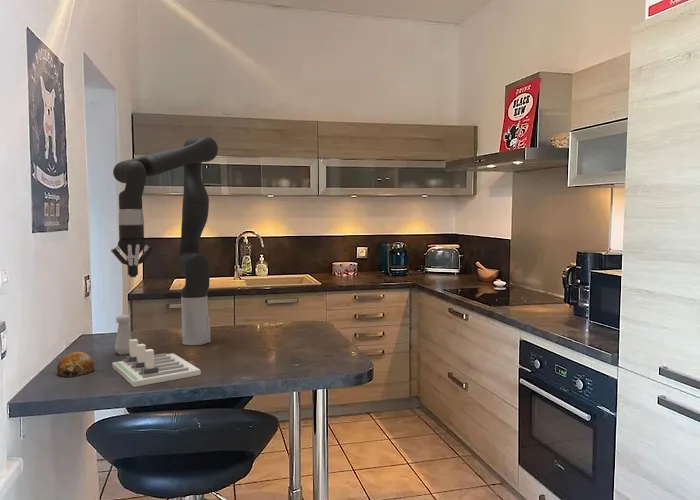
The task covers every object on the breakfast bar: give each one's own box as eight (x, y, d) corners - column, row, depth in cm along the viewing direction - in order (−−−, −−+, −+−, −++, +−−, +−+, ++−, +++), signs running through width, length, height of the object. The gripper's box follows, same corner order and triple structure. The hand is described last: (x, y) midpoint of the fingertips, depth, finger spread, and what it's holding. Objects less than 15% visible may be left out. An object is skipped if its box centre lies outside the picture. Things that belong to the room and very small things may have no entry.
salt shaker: (126, 355, 187) (125, 317, 186) (111, 355, 188) (110, 316, 187) (136, 351, 193) (135, 314, 192) (121, 350, 194) (120, 313, 193)
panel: (173, 357, 184) (173, 350, 184) (200, 374, 165) (200, 367, 165) (112, 367, 173) (112, 360, 173) (133, 386, 154) (133, 378, 153)
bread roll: (97, 382, 170) (105, 356, 172) (72, 377, 161) (81, 349, 163) (72, 379, 173) (79, 353, 176) (46, 374, 164) (54, 347, 167)
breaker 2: (146, 365, 169) (146, 343, 168) (149, 368, 166) (149, 344, 166) (133, 368, 166) (132, 344, 166) (136, 370, 164) (135, 346, 163)
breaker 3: (155, 371, 162) (154, 348, 162) (158, 374, 160) (157, 350, 159) (141, 374, 160) (140, 350, 159) (144, 376, 158) (143, 352, 157)
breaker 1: (139, 360, 175) (138, 338, 175) (142, 362, 173) (141, 339, 172) (126, 362, 173) (125, 339, 172) (128, 364, 170) (128, 341, 170)
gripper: (148, 223, 187) (150, 274, 188) (106, 223, 179) (108, 277, 180) (155, 223, 181) (157, 276, 182) (112, 224, 173) (114, 279, 174)
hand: (132, 276), depth 181 cm, fingers closed
